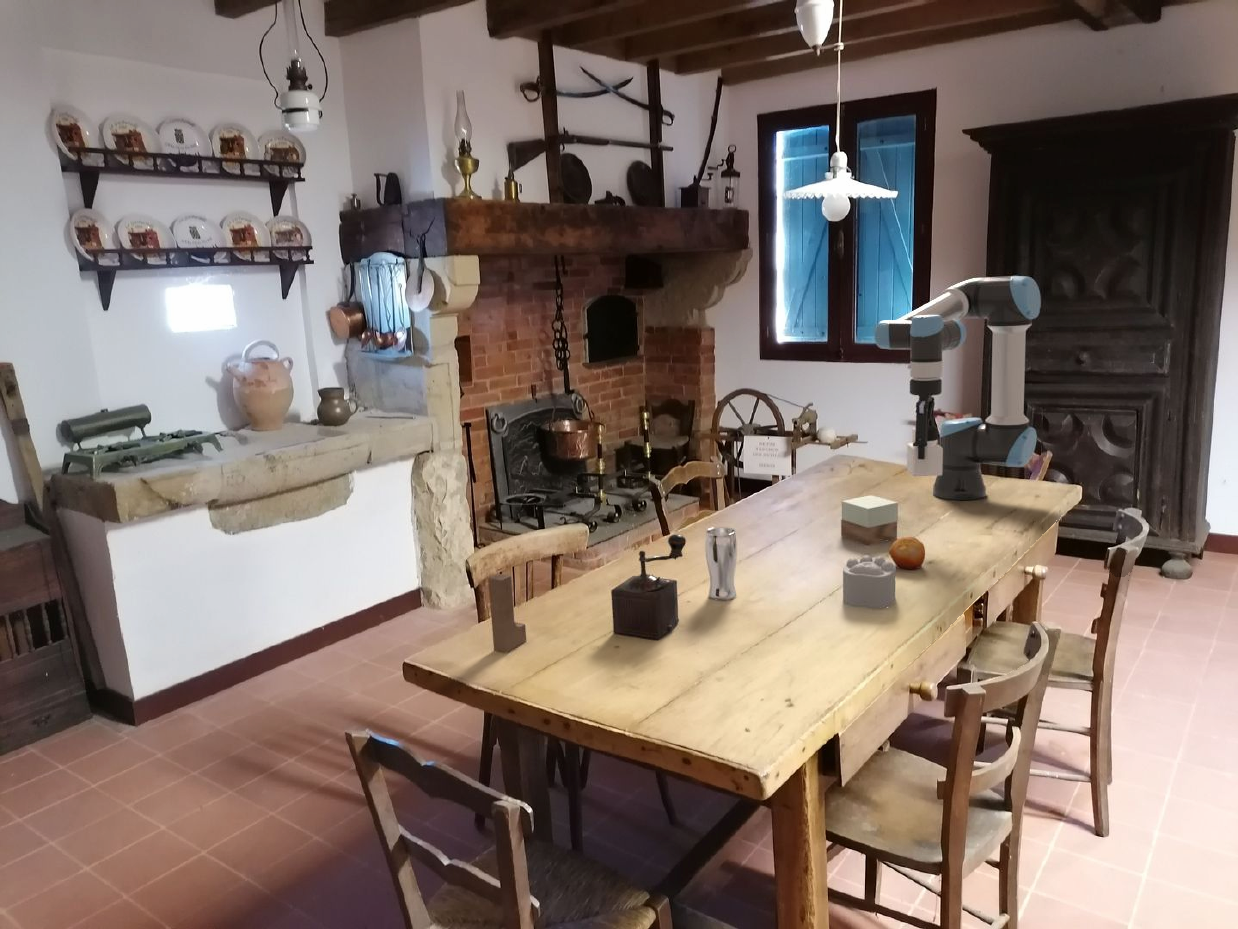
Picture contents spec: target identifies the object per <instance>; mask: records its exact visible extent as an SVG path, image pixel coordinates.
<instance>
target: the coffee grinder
mask: <svg viewBox="0 0 1238 929" xmlns="http://www.w3.org/2000/svg"><path fill="white" fill-rule="evenodd" d="M686 542H687V540H686V537H684V535H682V534H671V535H670V536H668V539H667V543H668V545H669V547H670V553H669V555H657V556H655V555H654V556H650V557H646V552H645V550H639V552H638V555H639V558H638V561H639V562H640V574H638V575H633V576H631V577H629V578H628V579H626V580H625V581H622V582H621V583H620V584H619V585H617V586H615V587H614V588H612V589H611V591H610V592H611V593H610V594H611V608H612V609H611V610H612V611H611V612H612V625H613V626H612V630H613V634H615V635H620V636H626V637H631V638H633V637H634V638H638V639H645V640H651V641H659V640H660V639H662V638H664V637H665V636H666V635H667V634H669V633H670V632H672V631H673V629H674V628H675V627H676V626H677V625H678V624H679V622H680V619H679V605H678V604H679V603H678V602H679V601H678V581H677V580H676V579H669V578H662V577H660V576H658V577H657V576H655V575H654V574H648V573H646V563H650V562H654V561H667V560H673V559H674V560H676V559H678V558H682V557H683V553H682V552H683V551H682V550H683V549H684V548H685V546H686Z"/></svg>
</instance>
